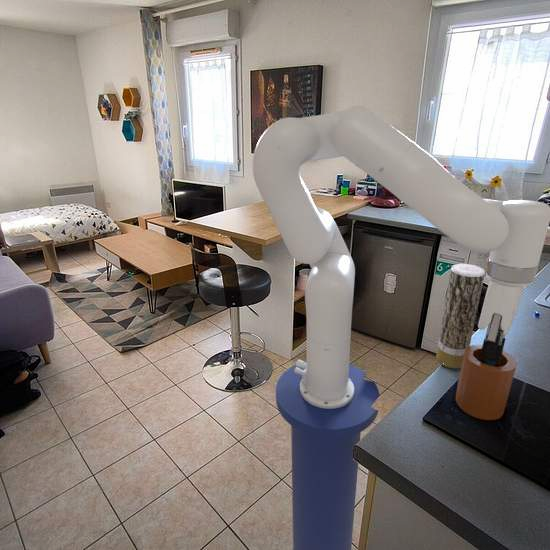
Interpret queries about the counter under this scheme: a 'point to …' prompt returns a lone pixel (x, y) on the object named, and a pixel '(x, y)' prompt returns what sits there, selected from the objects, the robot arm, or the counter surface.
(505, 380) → the orange hollow cylinder
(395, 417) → the counter surface
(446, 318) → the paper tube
